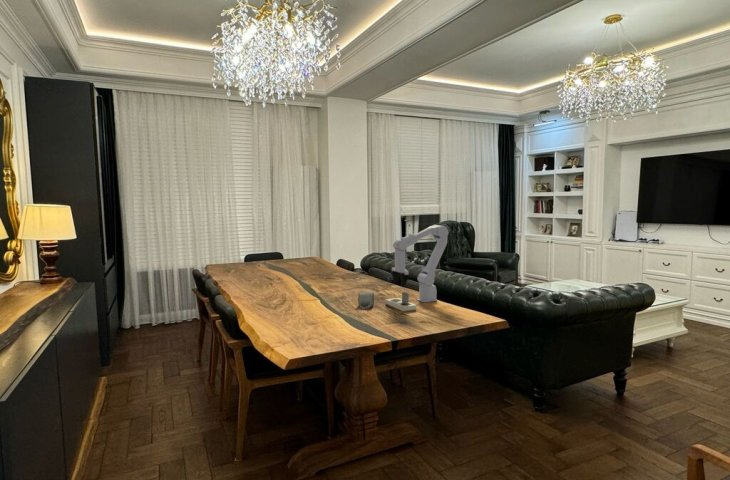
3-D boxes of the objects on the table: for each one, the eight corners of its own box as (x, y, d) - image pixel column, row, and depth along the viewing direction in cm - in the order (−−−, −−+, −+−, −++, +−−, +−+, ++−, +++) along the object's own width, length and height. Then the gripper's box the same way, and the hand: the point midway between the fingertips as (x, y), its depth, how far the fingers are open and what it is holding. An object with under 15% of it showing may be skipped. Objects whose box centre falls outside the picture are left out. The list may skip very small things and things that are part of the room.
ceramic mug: (359, 304, 234) (359, 290, 233) (374, 304, 233) (374, 290, 232) (357, 309, 223) (356, 295, 223) (372, 309, 223) (372, 295, 222)
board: (398, 303, 236) (398, 297, 236) (416, 310, 220) (416, 305, 220) (385, 304, 232) (385, 299, 232) (403, 312, 216) (403, 306, 216)
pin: (405, 306, 225) (405, 292, 224) (410, 308, 222) (410, 293, 221) (400, 308, 222) (400, 293, 222) (405, 309, 220) (405, 294, 219)
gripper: (387, 260, 239) (387, 283, 240) (400, 263, 226) (400, 288, 227) (397, 259, 242) (397, 282, 243) (411, 262, 229) (411, 287, 230)
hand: (399, 285), depth 235 cm, fingers open, 7 cm apart
